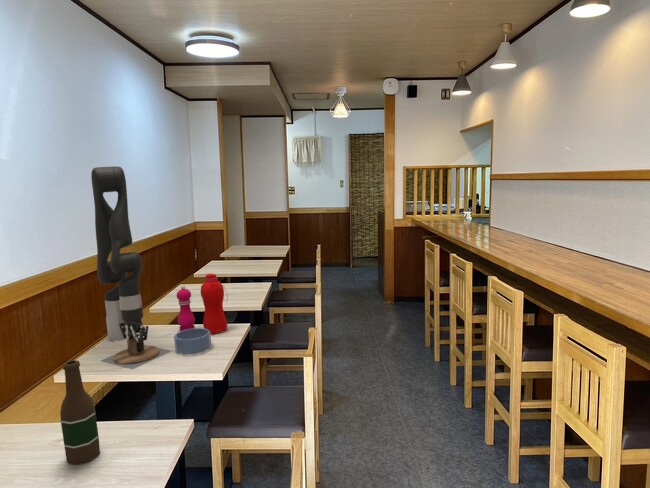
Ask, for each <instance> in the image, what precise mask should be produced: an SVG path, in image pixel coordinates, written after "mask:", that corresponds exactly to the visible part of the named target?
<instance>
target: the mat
mask: <svg viewBox="0 0 650 488" xmlns="http://www.w3.org/2000/svg"><path fill="white" fill-rule="evenodd" d="M144 346H148V345H147V344H144ZM158 348H159V354H158V355H157V356H156V357H155V358H153V359H150V360H148V361H145V362H141V363H136V364H118V363H115V362H114V356H115V355H116V354H114V355H111V356H109V357H106V358H104V359H101V360H100V362H102V363H106V364H110V365H113V366H118V367H120V368H121V367H123V368H126V369H130V370H135V369H136V368H139V367H141V366H143V365H145V364H147V363H150V362H152V361H154V360H156V359H158V358H160V357H163V356H164V355H167V354H169V353H172V352H173V350H171V349H166V348H165V349H164V348H162V347H158Z"/></svg>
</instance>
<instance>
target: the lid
mask: <svg viewBox="0 0 650 488" xmlns="http://www.w3.org/2000/svg"><path fill="white" fill-rule="evenodd" d="M126 343H127V348H126V349H122V350H120V351H118V352H117V353H115V354H114V355H115V356H114V362H115V363H118V364H136V363H141V362H145V361H148V360H150V359H153V358H155V357H156V356H157V355H158V354H159V348H160V347H157V346H154V345H147V346H144V345H145V343H144V341H143V347H144V349H143V351H142V352H137V342H136V339H135V337H134V338H132V339H130V340H126Z"/></svg>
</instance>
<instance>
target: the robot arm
mask: <svg viewBox="0 0 650 488" xmlns="http://www.w3.org/2000/svg"><path fill="white" fill-rule="evenodd" d="M124 171H125V170H124V169H123V168H122V167H121V166H98V167H93V168H92V170H91V179H90V180H91V186H92V194H93V195H92V196H93V201H94V221H95V222H94V227H95V228H94V229H95V240H96V249H97V250H96V251H97V254H96V255H97V256H96V257H97V259H96V273H97V276H96V277H97V280H98V282H99V283H100V284H103V285H108V284H115V283H117V284H116V285H115V286H114V287H113V288H111V289H109V290H107V291H106V292H105V293H104V294H103V296H104V297H103V298H104V305H105V312H106V317H105V322H106V330H107V337H108V340H109V341H111V342H116V341H122V340H126V341H127V340H130V339H132V338H135V339H136V342H137V352H142V351H143V349H144V347H143V341H147V339H148V334H149V326H148V325H144V324H143V321H142V319H143V318H144V310H143V300H142V296H141V288H140V274H141V270H142V266H143V265H142V264H143V260H142V256H141V255H140V253H139V252H137V251H131V252H130V251H129V252H122V253H120V252H121V249H123V248H127V247H129V246H131V245H132V244H133V236H132V232H131V226H130V220H129V219H130V218H129V208H128V207H129V205H128V204H129V202H128V193H127V192H128V190H127V180H126V174H125V172H124ZM114 192H115V193H116V192H117V201H116V205H115V208H114V209H113V208H112V206H110V205H109V203H108V201H107V200H106V199H105V197H104V193H114ZM110 254H111V255H110ZM109 257H110V260H108V259H109ZM127 273H130V274H129V275H128V274H127ZM127 275H128V276H127Z"/></svg>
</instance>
